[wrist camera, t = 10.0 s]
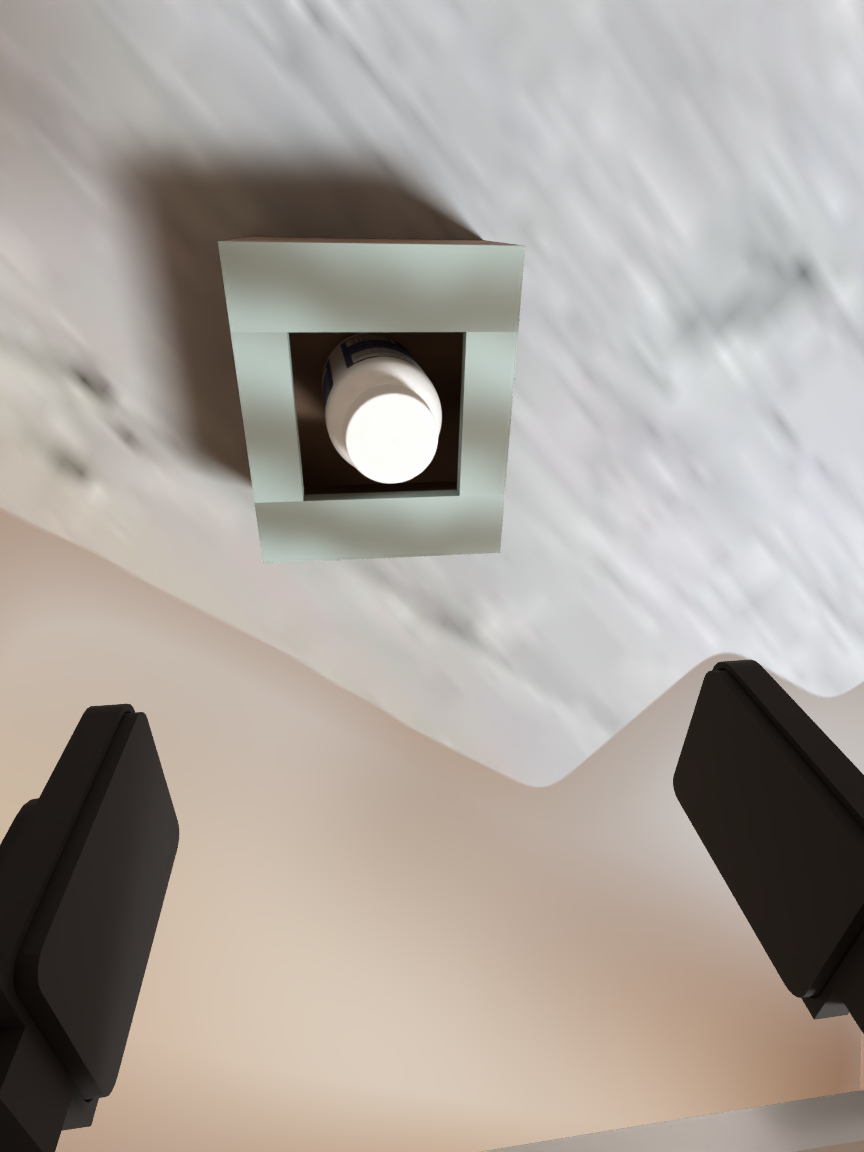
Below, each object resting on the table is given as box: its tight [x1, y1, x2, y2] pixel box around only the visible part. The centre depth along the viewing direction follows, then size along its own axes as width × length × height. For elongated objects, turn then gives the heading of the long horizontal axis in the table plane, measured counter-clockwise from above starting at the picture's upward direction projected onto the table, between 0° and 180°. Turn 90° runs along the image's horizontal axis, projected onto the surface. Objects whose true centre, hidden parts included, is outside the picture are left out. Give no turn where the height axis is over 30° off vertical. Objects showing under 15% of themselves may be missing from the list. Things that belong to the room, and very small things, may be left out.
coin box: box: [218, 237, 525, 563], centre depth 31 cm, size 14×12×8 cm
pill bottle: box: [322, 332, 442, 484], centre depth 30 cm, size 5×5×10 cm
